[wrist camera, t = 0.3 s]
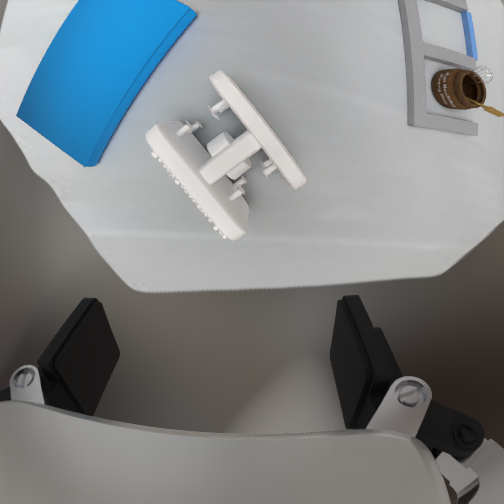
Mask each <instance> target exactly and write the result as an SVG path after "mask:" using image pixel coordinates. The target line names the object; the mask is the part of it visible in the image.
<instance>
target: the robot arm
mask: <svg viewBox="0 0 504 504" xmlns="http://www.w3.org/2000/svg"><path fill="white" fill-rule="evenodd" d="M119 356H120V351H119V348H118V346H117V343H116V340H115V338H114V335H113V333H112V330H111V328H110V325H109V322H108V319H107V317H106V314H105V311H104V308H103V305H102V303H101V302H99V301H98V299H96V298H84V299H83V300H82V301H81V302H80V303H79V304H78V306H77V307H76V308H75V310H74V311H73V312H72V314H71V315H70V317H69V318H68V319H67V320H66V322H65V323H64V324H63V326H62V327H61V328H60V330H59V331H58V333H57V334H56V335H55V337H54V338H53V340H52V341H51V342H50V344H49V345H48V346H47V348H46V349H45V351H44V352H43V354H42V355H41V356H40V358H39V360H38V361H37V363H38V364H39V368H38V369H37V368H36V367H35V366H32V365H26V366H22V367H20V368H19V369H17V370H16V371H15V372H14V374H13V375H12V377H11V379H10V387H9V388H6V389H4V390H2V391H0V504H451V502H450V499H449V495H448V492H447V489H446V485H445V482H444V480H443V477H446V478H447V479H448V480H449V481H450V482H451V483H450V485H451V487H453V488H454V490H455V491H456V492H457V495H458V501H457V504H504V449H502V448H501V447H500V446H499V445H498V444H497V443H495V442H494V441H493V440H492V439H490V440H489V441H487V440H486V439H485V438H484V430H483V428H482V425H481V424H480V423H479V422H478V421H477V420H475V419H474V418H471V417H469V416H467V415H464V414H462V413H460V412H457V411H455V410H453V409H451V408H449V407H446V406H444V405H442V404H440V403H438V402H435V401H433V400H431V396H432V395H431V390H430V388H429V386H428V385H427V384H426V383H425V382H424V381H423V380H421V379H419V378H415V377H403V375H402V373H401V371H400V369H399V366H398V364H397V362H396V360H395V357H394V355H393V353H392V351H391V349H390V346H389V344H388V342H387V340H386V338H385V336H384V334H383V332H382V330H381V328H379V327H375V328H374V327H373V325H372V322H371V320H370V318H369V316H368V314H367V312H366V310H365V307H364V305H363V303H362V301H361V299H360V297H359V296H358V295H348V296H343V298H342V300H338V302H337V309H336V316H335V323H334V330H333V336H332V343H331V349H330V361H331V365H332V369H333V374H334V377H335V382H336V386H337V391H338V395H339V399H340V404H341V408H342V413H343V418H344V423H345V427H346V429H348V430H334V431H320V432H306V433H282V434H225V433H224V434H221V433H205V432H192V431H180V430H171V429H162V428H154V427H147V426H140V425H134V424H128V423H123V422H117V421H112V420H107V419H102V418H97V417H93V414H94V412H95V410H96V408H97V405H98V403H99V401H100V398H101V396H102V394H103V392H104V390H105V387H106V385H107V383H108V381H109V379H110V376H111V374H112V372H113V370H114V368H115V366H116V363H117V361H118V359H119Z"/></svg>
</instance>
